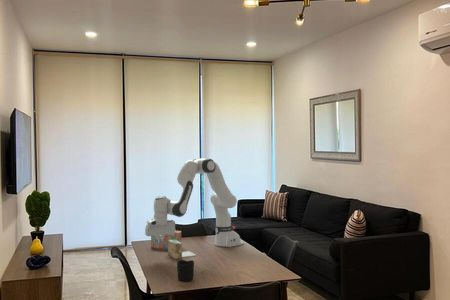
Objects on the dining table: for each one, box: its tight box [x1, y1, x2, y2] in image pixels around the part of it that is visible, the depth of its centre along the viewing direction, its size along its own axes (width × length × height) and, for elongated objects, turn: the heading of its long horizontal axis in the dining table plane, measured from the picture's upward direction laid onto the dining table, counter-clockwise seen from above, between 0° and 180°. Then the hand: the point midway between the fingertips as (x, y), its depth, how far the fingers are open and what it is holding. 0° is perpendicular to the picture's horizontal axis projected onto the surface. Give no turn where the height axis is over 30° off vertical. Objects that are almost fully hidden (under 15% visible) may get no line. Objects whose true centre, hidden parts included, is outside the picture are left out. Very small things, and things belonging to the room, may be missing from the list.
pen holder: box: [176, 259, 195, 283], centre depth 241 cm, size 9×9×10 cm
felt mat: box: [181, 250, 197, 259], centre depth 296 cm, size 10×12×1 cm
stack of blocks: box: [150, 230, 182, 250], centre depth 317 cm, size 21×6×12 cm, turn 82°
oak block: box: [167, 240, 183, 260], centre depth 292 cm, size 5×12×10 cm, turn 29°
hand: (160, 241), depth 287 cm, fingers closed
